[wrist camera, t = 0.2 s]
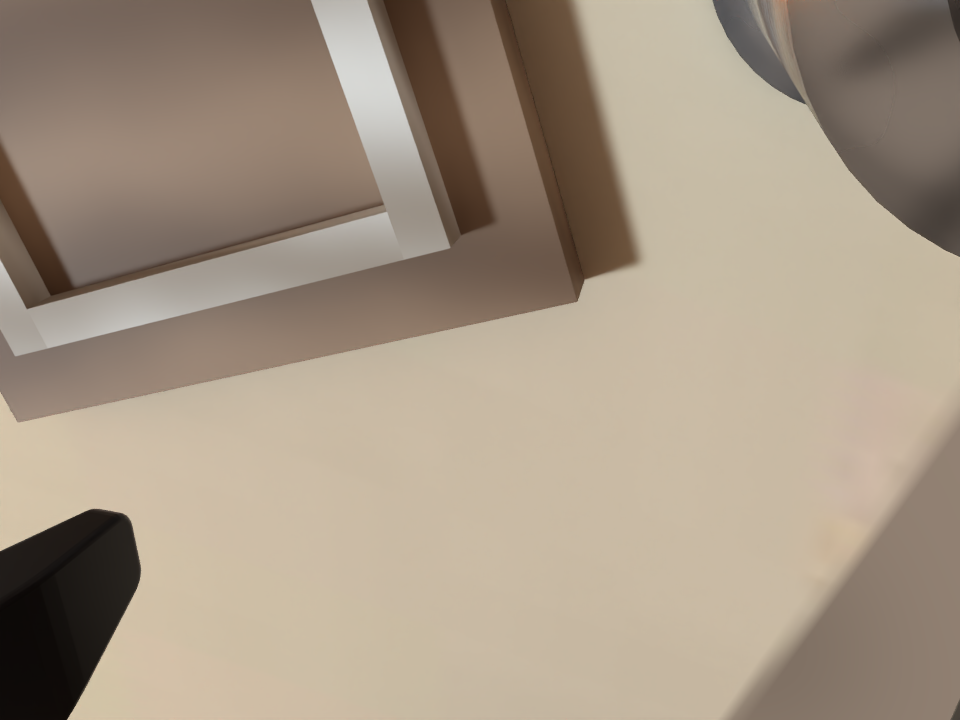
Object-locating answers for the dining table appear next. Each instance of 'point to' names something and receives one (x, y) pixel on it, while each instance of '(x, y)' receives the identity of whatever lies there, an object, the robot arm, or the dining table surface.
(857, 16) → the silver metal cup
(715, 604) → the dining table surface
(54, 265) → the bronze base
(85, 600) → the robot arm
